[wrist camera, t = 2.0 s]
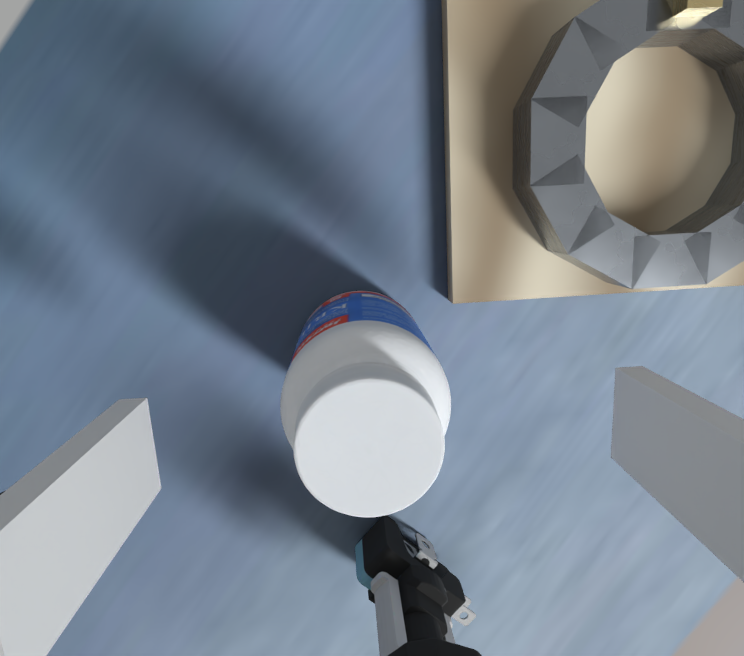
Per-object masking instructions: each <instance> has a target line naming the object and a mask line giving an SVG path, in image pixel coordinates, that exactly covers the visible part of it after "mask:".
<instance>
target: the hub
mask: <svg viewBox="0 0 744 656" xmlns="http://www.w3.org/2000/svg"><path fill="white" fill-rule="evenodd" d="M676 46H678V47H679V48H681V49H682V50H684V51H686V52H687V53H689V54H690V55H692V56H693V57H695V58H697V59H698V60H700V61H701V62H703V63H704V64H706V65H707V66H709V67H711V68H712V69H714V70H715V71H716V72H717V74H718V77H719V79H720V81H721V83H722V86H723V88H724V90H725V92H726V95H727V97H728V99H729V102H730V104H731V106H732V108H733V111H734V113H735V120H734V131H733V141H732V152H731V163H730V165H729V166H728V168H727V170H726V171H725V173H724V175H723V176H722V178H721V180H720V181H719V183H718V184H717V186H716V188H715V189H714V191H713V193H712V194H711V196H710V198H709V199H708V201H707V202H706V204H705V206H703V207H702V208H700V209H698V210H697V211H695V212H694V213H692V214H690V215H689V216H687V217H686V218H684V219H683V220H681V221H679V222H678V223H676V224H675V225H673V226H672V227H670V228H668V229H667V230H665V231H653V232H642V231H640V230H639V229H637V228H635V227H633V226H632V225H630V224H628V223H626V222H624V221H623V220H621V219H619V218H617V217H616V216H614V215H612V214H610V213H608V211H607V209H606V208H605V206H604V204H603V202H602V200H601V198H600V196H599V194H598V192H597V190H596V188H595V186H594V185H593V183H592V181H591V179H590V177H589V175H588V173H587V171H586V169H585V146H586V117H587V111H588V109H589V107H590V106H591V104H592V102H593V100H594V98H595V97H596V95H597V93H598V91H599V89H600V88H601V86H602V84H603V82H604V80H605V78H606V77H607V75H608V73H609V71H610V69H611V68H612V66H613V64H614V62H615V61H617V60H618V59H620V58H621V57H623V56H624V55H626V54H627V53H629V52H630V51H632V50H633V49H635V48H651V47H676ZM512 189H513V190H514V192H515V194H516V196H517V197H518V199H519V201H520V203H521V205H522V206H523V208H524V210H525V212H526V213H527V215H528V217H529V219H530V221H531V222H532V224H533V226H534V228H535V230H536V231H537V233H538V235H539V237H540V238H541V240H542V242H543V244H544V246H545V247H546V249H547V251H549V252H551V253H553V254H555V255H556V256H558V257H560V258H562V259H564V260H566V261H568V262H569V263H571V264H573V265H575V266H577V267H579V268H581V269H582V270H584V271H586V272H588V273H590V274H592V275H594V276H595V277H597V278H599V279H601V280H603V281H605V282H606V283H610V284H614V285H618V286H622V287H626V288H629V289H639V288H655V287H671V286H687V285H703V284H705V285H706V284H708V283H709V282H711V281H712V280H714V279H716V278H717V277H719V276H720V275H722V274H724V273H725V272H727V271H728V270H730V269H732V268H733V267H735V266H736V265H738V264H740V263H741V262H743V261H744V0H599V1H598V2H596V3H595V4H593V5H592V6H590V7H589V8H587V9H586V10H584V11H583V12H581V13H580V14H579V15H577V16H575V17H574V18H573V19H571V20H570V21H569V22H568V23H567V24H565V25H564V26H563V27H562V28H561V29H559V30H558V31H557V32H556V33H555V34H554V35H552V36H551V39H550V41H549V42H548V44H547V46H546V48H545V50H544V52H543V54H542V56H541V58H540V60H539V61H538V63H537V65H536V67H535V69H534V71H533V73H532V75H531V77H530V79H529V80H528V82H527V84H526V86H525V88H524V90H523V92H522V94H521V96H520V98H519V100H518V101H517V103H516V105H515V107H514V109H513V187H512Z"/></svg>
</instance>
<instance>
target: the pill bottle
mask: <svg viewBox="0 0 744 656" xmlns="http://www.w3.org/2000/svg"><path fill="white" fill-rule="evenodd" d="M280 408H281V420H282V424H283V428H284V432H285V434H286V437H287V439H288V441H289V443H290V445H291V447H292V448H293V452H294V460H295V464H296V468H297V471H298V474H299V476H300V478H301V480H302V482H303V483H304V485H305V487H306V488H307V489H308V490H309V492H310V493H311V494H312V495H313V496H314V497H315V498H316V499H317V500H319V501H320V502H321V503H323V504H324V505H326V506H327V507H329V508H331V509H333V510H335V511H337V512H340V513H343V514H347V515H350V516H356V517H379V516H385V515H388V514H392V513H395V512H398V511H400V510H402V509H404V508H406V507H408V506H409V505H411V504H413V503H414V502H416V501H417V500H418V499H419V498H420V497H421V496H423V495H424V494H425V493H426V492H427V490H428V489H429V488H430V486H431V485H432V484H433V482H434V481H435V479H436V478H437V476H438V473H439V471H440V468H441V466H442V462H443V457H444V451H445V439H444V436H445V433H446V430H447V427H448V424H449V420H450V413H451V396H450V389H449V385H448V381H447V378H446V376H445V373H444V371H443V369H442V367H441V365H440V363H439V361H438V359H437V357H436V356H435V354H434V352H433V351H432V349H431V347H430V346H429V344H428V342H427V340H426V339H425V337H424V336H423V334H422V332H421V331H420V329H419V327H418V326H417V324H416V322H415V321H414V319H413V318H412V316H411V315H410V314H409V313H408V312H407V311H406V309H405V308H403V307H402V306H401V305H400V304H399V303H398V302H396V301H395V300H393V299H391V298H389V297H387V296H385V295H382V294H380V293H376V292H371V291H351V292H346V293H342V294H339V295H337V296H334V297H332V298H330V299H329V300H327V301H326V302H324V303H323V304H322V305H320V306H319V307H318V308H317V309H316V310H315V311H314V312H313V313H312V314H311V316H310V317H309V318H308V320H307V321H306V323H305V325H304V327H303V329H302V331H301V334H300V336H299V339H298V342H297V345H296V348H295V351H294V353H293V356H292V359H291V362H290V365H289V368H288V371H287V374H286V377H285V380H284V384H283V388H282V393H281V404H280Z"/></svg>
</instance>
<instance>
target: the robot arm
mask: <svg viewBox="0 0 744 656" xmlns="http://www.w3.org/2000/svg"><path fill="white" fill-rule="evenodd" d="M611 458H612V459H613V460H614V461H615V462H616V463H617V464H618V465H619V466H621V467H622V468H623V469H624V470H625V471H626V472H627V473H628V474H629V475H630V476H631V477H632V478H633V479H634V480H635V481H637V482H638V483H639V484H640V485H641V486H642V487H643V488H644V489H645V490H646V491H647V492H648V493H649V494H650V495H651V496H652V497H654V498H655V499H656V500H657V501H658V502H659V503H660V504H661V505H662V506H663V507H664V508H665V509H666V510H667V511H668V512H669V513H671V514H672V515H673V516H674V517H675V518H676V519H677V520H678V521H679V522H680V523H681V524H682V525H683V526H684V527H685V528H687V529H688V530H689V531H690V532H691V533H692V534H693V535H694V536H695V537H696V538H697V539H698V540H699V541H700V542H701V543H702V544H704V545H705V546H706V547H707V548H708V549H709V550H710V551H711V552H712V553H713V554H714V555H715V556H716V557H717V558H718V559H720V560H721V561H722V562H723V563H724V564H725V565H726V566H727V567H728V568H729V569H730V570H731V571H732V572H733V573H734V574H735V575H737V576H738V577H739V578H740V579H741V580H742V581H743V582H744V419H742V418H740V417H738V416H736V415H734V414H732V413H730V412H729V411H727V410H725V409H723V408H721V407H719V406H717V405H715V404H713V403H711V402H709V401H708V400H706V399H704V398H702V397H700V396H698V395H696V394H694V393H692V392H690V391H689V390H687V389H685V388H683V387H681V386H679V385H677V384H675V383H673V382H671V381H670V380H668V379H666V378H664V377H662V376H660V375H658V374H656V373H654V372H652V371H650V370H649V369H647V368H645V367H643V366H636V367H620V368H615V387H614V407H613V426H612V446H611ZM160 490H161V483H160V476H159V470H158V464H157V457H156V451H155V445H154V438H153V432H152V426H151V419H150V413H149V406H148V400H147V398H135V399H120V400H118V401H117V402H115V403H114V404H113V405H112V406H110V407H109V408H108V409H107V410H105V411H104V412H103V413H102V414H101V415H99V416H98V417H97V418H96V419H94V420H93V421H92V422H91V423H89V424H88V425H87V426H86V427H84V428H83V429H82V430H81V431H79V432H78V433H77V434H76V435H74V436H73V437H72V438H71V439H69V440H68V441H67V442H66V443H64V444H63V445H62V446H61V447H59V448H58V449H57V450H56V451H55V452H53V453H52V454H51V455H50V456H48V457H47V458H46V459H45V460H43V461H42V462H41V463H40V464H38V465H37V466H36V467H35V468H33V469H32V470H31V471H30V472H28V473H27V474H26V475H25V476H23V477H22V478H21V479H20V480H18V481H17V482H16V483H15V484H14V485H12V486H11V487H10V488H9V489H7V490H6V491H4V492H2V493H0V656H46V655H47V654H48V652H49V651H50V649H51V648H52V646H53V645H54V644H55V642H56V641H57V639H58V638H59V636H60V635H61V633H62V632H63V631H64V629H65V628H66V626H67V625H68V623H69V622H70V620H71V619H72V617H73V616H74V615H75V613H76V612H77V610H78V609H79V607H80V606H81V604H82V603H83V601H84V600H85V599H86V597H87V596H88V594H89V593H90V591H91V590H92V588H93V587H94V585H95V584H96V583H97V581H98V580H99V578H100V577H101V575H102V574H103V572H104V571H105V569H106V568H107V567H108V565H109V564H110V562H111V561H112V559H113V558H114V556H115V555H116V554H117V552H118V551H119V549H120V548H121V546H122V545H123V543H124V542H125V540H126V539H127V538H128V536H129V535H130V533H131V532H132V530H133V529H134V527H135V526H136V524H137V523H138V522H139V520H140V519H141V517H142V516H143V514H144V513H145V511H146V510H147V508H148V507H149V506H150V504H151V503H152V501H153V500H154V498H155V497H156V495H157V494H158V492H159V491H160Z"/></svg>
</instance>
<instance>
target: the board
mask: <svg viewBox="0 0 744 656" xmlns="http://www.w3.org/2000/svg"><path fill="white" fill-rule="evenodd" d="M598 1H599V0H442V41H443V88H444V134H445V180H446V227H447V273H448V300H449V301H450V302H452V303H453V304H455V303H471V302H487V301H502V300H518V299H534V298H550V297H565V296H581V295H597V294H613V293H628V292H644V291H660V290H675V289H691V288H707V287H723V286H738V285H744V261H743V262H741V263H740V264H738V265H736V266H735V267H733V268H732V269H730V270H728V271H727V272H725V273H724V274H722V275H720V276H719V277H717V278H716V279H714V280H712V281H711V282H709V283H708V284H706V285H705V284H703V285H687V286H671V287H655V288H639V289H629V288H626V287H622V286H618V285H614V284H610V283H606V282H605V281H603V280H601V279H599V278H597V277H595V276H594V275H592V274H590V273H588V272H586V271H584V270H582V269H581V268H579V267H577V266H575V265H573V264H571V263H569V262H568V261H566V260H564V259H562V258H560V257H558V256H556V255H555V254H553V253H551V252H549V251H547V249H546V247H545V246H544V244H543V242H542V240H541V238H540V237H539V235H538V233H537V231H536V230H535V228H534V226H533V224H532V222H531V221H530V219H529V217H528V215H527V213H526V212H525V210H524V208H523V206H522V205H521V203H520V201H519V199H518V197H517V196H516V194H515V192H514V190H513V189H512V187H513V109H514V107H515V105H516V103H517V101H518V100H519V98H520V96H521V94H522V92H523V90H524V88H525V86H526V84H527V82H528V80H529V79H530V77H531V75H532V73H533V71H534V69H535V67H536V65H537V63H538V61H539V60H540V58H541V56H542V54H543V52H544V50H545V48H546V46H547V44H548V42H549V41H550V39H551V36H552V35H554V34H555V33H556V32H557V31H558V30H559V29H561V28H562V27H563V26H564V25H565V24H567V23H568V22H569V21H570V20H571V19H573V18H574V17H575V16H577V15H579V14H580V13H581V12H583V11H584V10H586V9H587V8H589V7H590V6H592V5H593V4H595V3H596V2H598ZM734 120H735V113H734V111H733V108H732V106H731V104H730V102H729V99H728V97H727V95H726V92H725V90H724V88H723V86H722V83H721V81H720V79H719V77H718V74H717V72H716V71H715V70H714V69H712V68H711V67H709V66H707V65H706V64H704V63H703V62H701V61H700V60H698V59H697V58H695V57H693V56H692V55H690V54H689V53H687V52H686V51H684V50H682V49H681V48H679V47H678V46H676V47H651V48H635V49H633V50H632V51H630V52H629V53H627V54H626V55H624V56H623V57H621V58H620V59H618V60H617V61H615V62H614V64H613V66H612V68H611V69H610V71H609V73H608V75H607V77H606V78H605V80H604V82H603V84H602V86H601V88H600V89H599V91H598V93H597V95H596V97H595V98H594V100H593V102H592V104H591V106H590V107H589V109H588V111H587V117H586V146H585V169H586V171H587V173H588V175H589V177H590V179H591V181H592V183H593V185H594V186H595V188H596V190H597V192H598V194H599V196H600V198H601V200H602V202H603V204H604V206H605V208H606V209H607V211H608V213H610V214H612V215H614V216H616V217H617V218H619V219H621V220H623V221H624V222H626V223H628V224H630V225H632V226H633V227H635V228H637V229H639V230H640V231H642V232H653V231H665V230H667V229H668V228H670V227H672V226H673V225H675V224H676V223H678V222H679V221H681V220H683V219H684V218H686V217H687V216H689V215H690V214H692V213H694V212H695V211H697V210H698V209H700V208H702V207H703V206H705V204H706V202H707V201H708V199H709V198H710V196H711V194H712V193H713V191H714V189H715V188H716V186H717V184H718V183H719V181H720V180H721V178H722V176H723V175H724V173H725V171H726V170H727V168H728V166H729V165H730V163H731V152H732V141H733V131H734Z"/></svg>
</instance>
